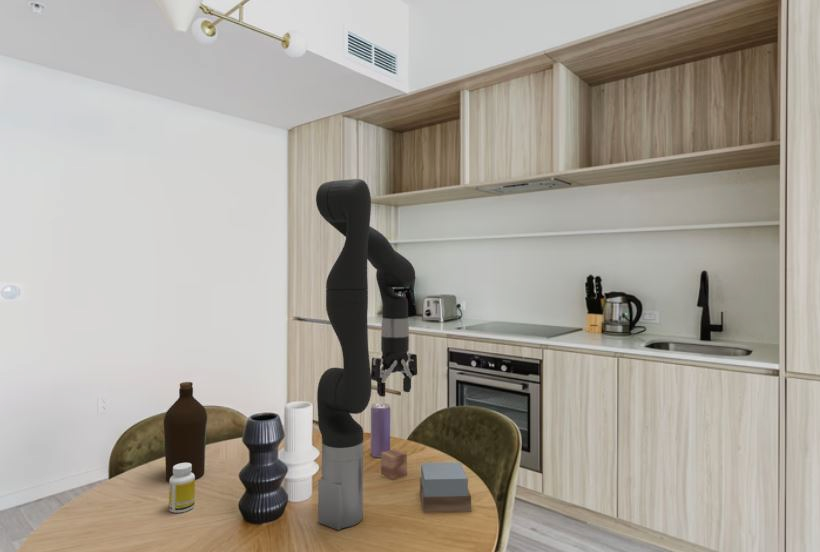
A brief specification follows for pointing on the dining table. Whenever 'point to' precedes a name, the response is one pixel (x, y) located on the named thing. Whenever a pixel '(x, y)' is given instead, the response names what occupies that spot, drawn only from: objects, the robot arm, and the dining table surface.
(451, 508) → the walnut base slab
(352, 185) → the robot arm
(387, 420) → the beverage can
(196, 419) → the olive oil
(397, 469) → the terracotta block
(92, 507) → the dining table surface
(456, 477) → the slate top slab
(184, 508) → the supplement bottle
